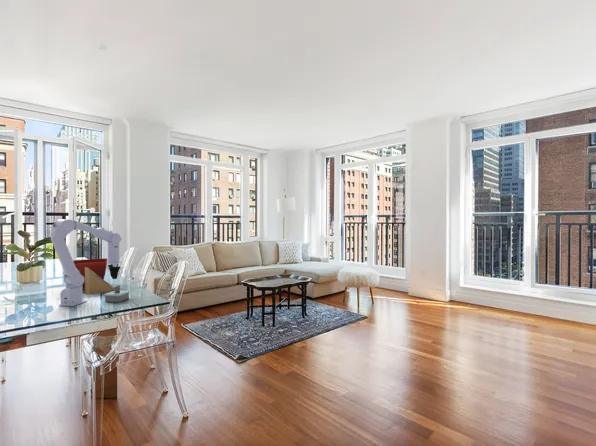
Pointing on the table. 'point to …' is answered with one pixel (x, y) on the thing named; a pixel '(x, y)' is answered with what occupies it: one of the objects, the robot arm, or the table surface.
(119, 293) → the lid
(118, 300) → the box
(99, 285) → the sandwich container
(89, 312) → the table surface
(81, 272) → the plant pot
